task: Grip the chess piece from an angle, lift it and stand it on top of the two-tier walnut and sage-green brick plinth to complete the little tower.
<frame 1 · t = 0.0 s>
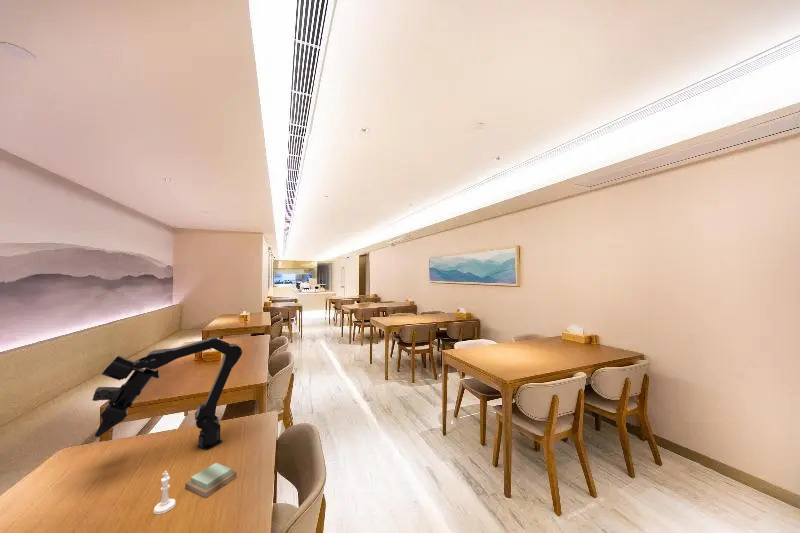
hand: (99, 430, 97), 15 cm above the table, tool tilted 35°, fingers open, 9 cm apart
brick plinth: (211, 482, 93), on the table
chess piece: (164, 508, 83), on the table
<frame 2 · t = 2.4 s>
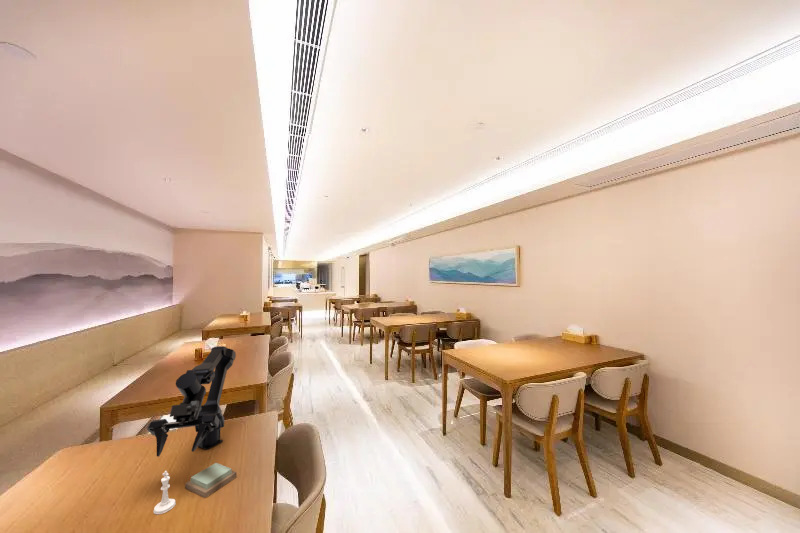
hand: (175, 453, 89), 12 cm above the table, tool tilted 45°, fingers open, 9 cm apart
nothing on the table moved.
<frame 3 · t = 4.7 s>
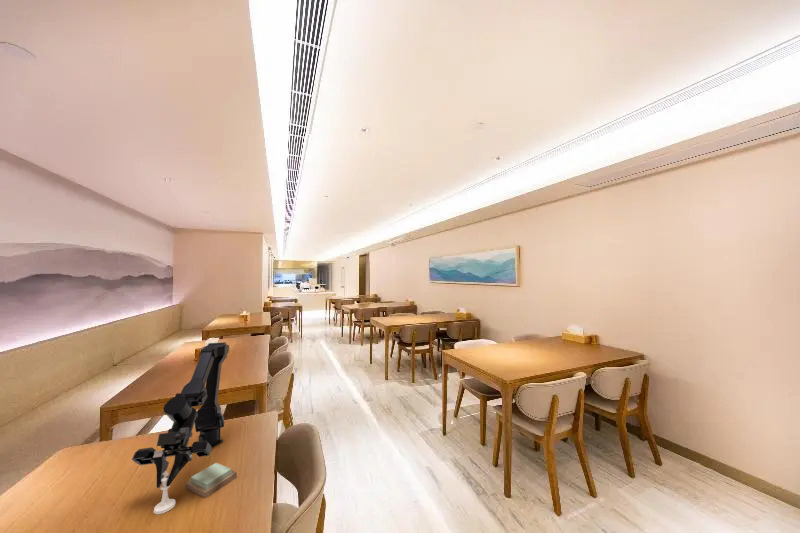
hand: (162, 486, 82), 7 cm above the table, tool tilted 45°, fingers closed on chess piece
chess piece: (164, 508, 83), on the table, touching gripper
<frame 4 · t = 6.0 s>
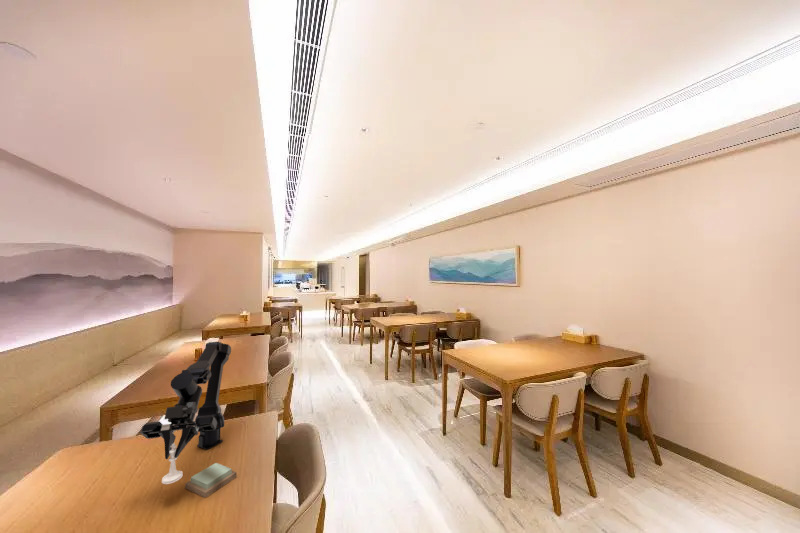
hand: (171, 458, 84), 13 cm above the table, tool tilted 45°, fingers closed on chess piece
chess piece: (172, 479, 85), point 6 cm above the table, touching gripper
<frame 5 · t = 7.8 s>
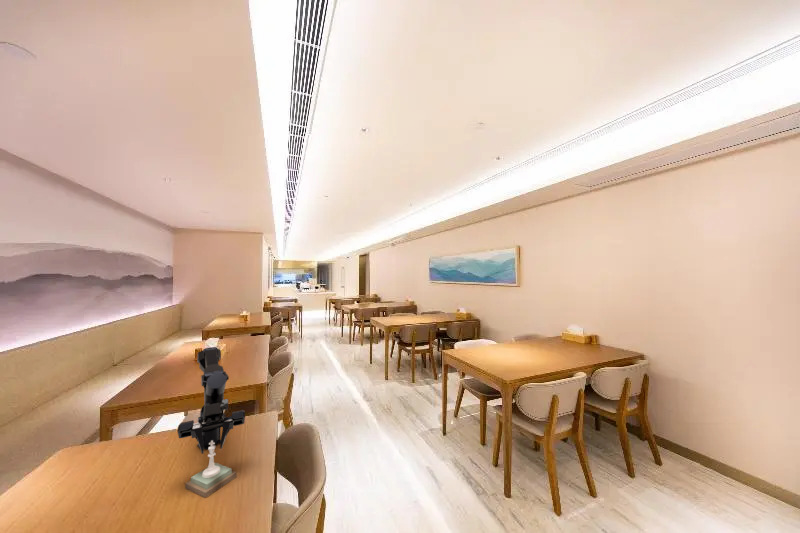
hand: (211, 450, 92), 11 cm above the table, tool tilted 45°, fingers open, 5 cm apart
chess piece: (211, 473, 93), point 3 cm above the table, touching brick plinth
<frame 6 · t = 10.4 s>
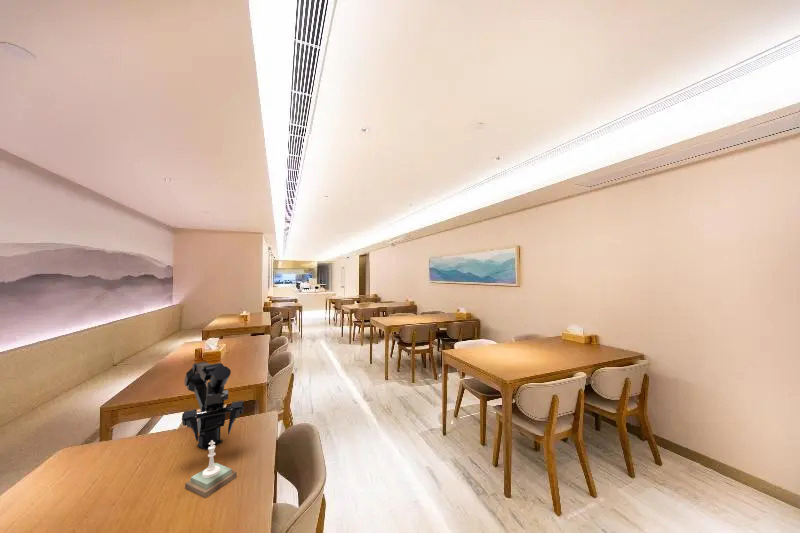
hand: (213, 437, 101), 11 cm above the table, tool tilted 45°, fingers open, 9 cm apart
nothing on the table moved.
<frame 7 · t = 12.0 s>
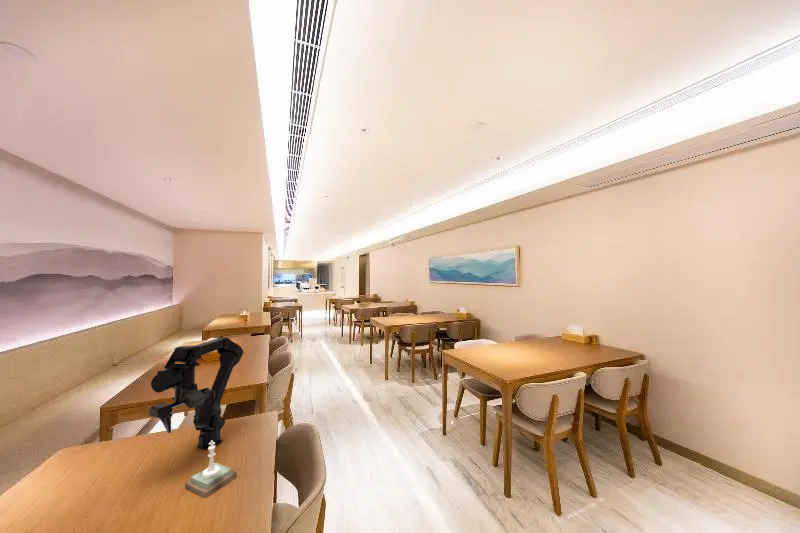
hand: (183, 426, 103), 13 cm above the table, tool pointing down, fingers open, 9 cm apart
nothing on the table moved.
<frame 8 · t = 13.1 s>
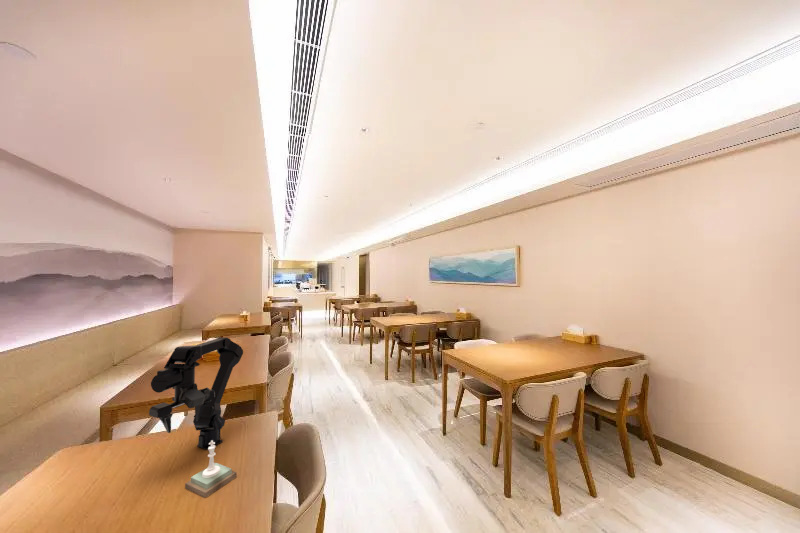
hand: (183, 426, 103), 13 cm above the table, tool pointing down, fingers open, 9 cm apart
nothing on the table moved.
at the end: chess piece 0.2 cm off-centre on the brick plinth, point 2.8 cm above the brick plinth's base; chess piece tilted 0°; the gripper is holding nothing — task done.
